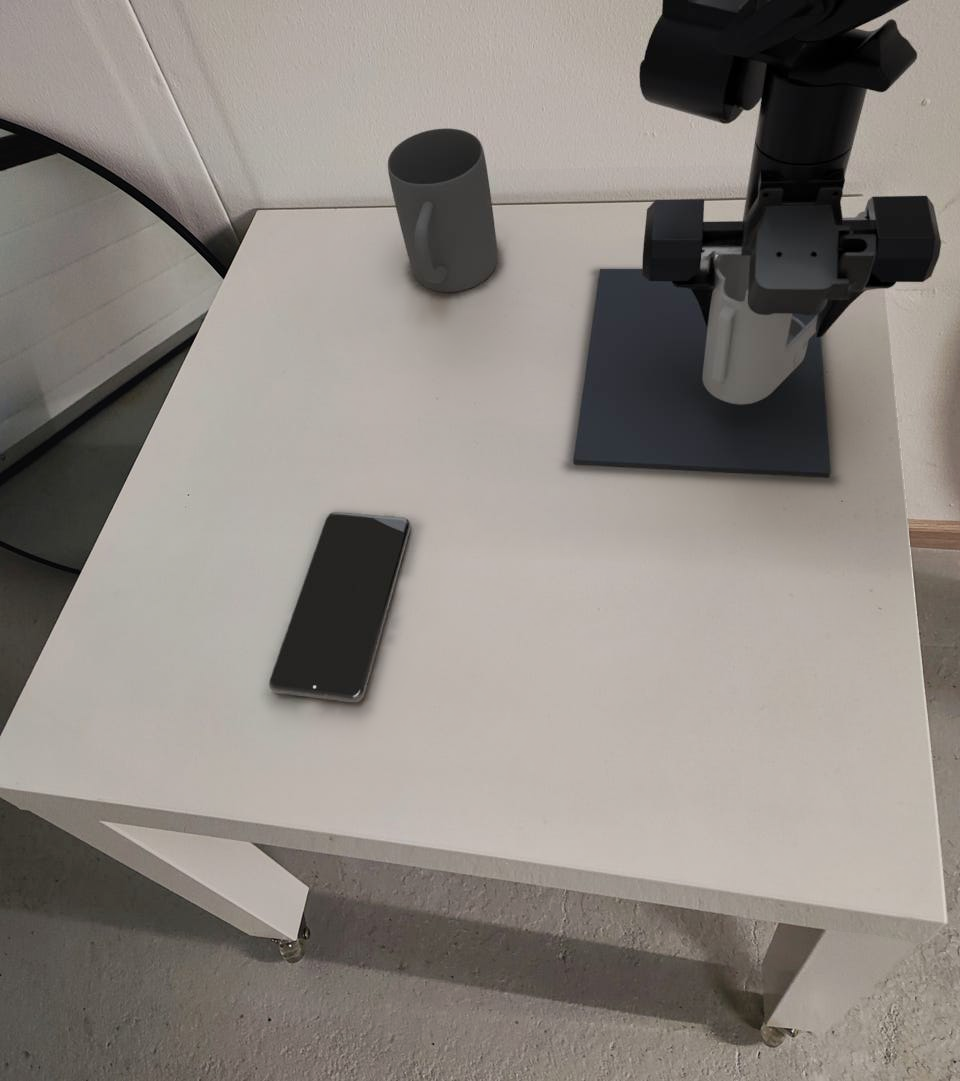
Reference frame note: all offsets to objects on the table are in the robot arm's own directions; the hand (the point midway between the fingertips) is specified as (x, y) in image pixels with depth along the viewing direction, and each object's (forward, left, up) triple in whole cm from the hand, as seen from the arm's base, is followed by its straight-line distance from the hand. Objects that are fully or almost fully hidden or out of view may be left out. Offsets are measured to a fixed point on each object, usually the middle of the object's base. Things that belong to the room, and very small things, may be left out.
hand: (764, 332), depth 62 cm
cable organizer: (-1, -2, -5) cm, 5 cm away
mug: (+29, -15, -8) cm, 34 cm away
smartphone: (+30, +23, -8) cm, 39 cm away
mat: (+4, -4, -8) cm, 9 cm away
